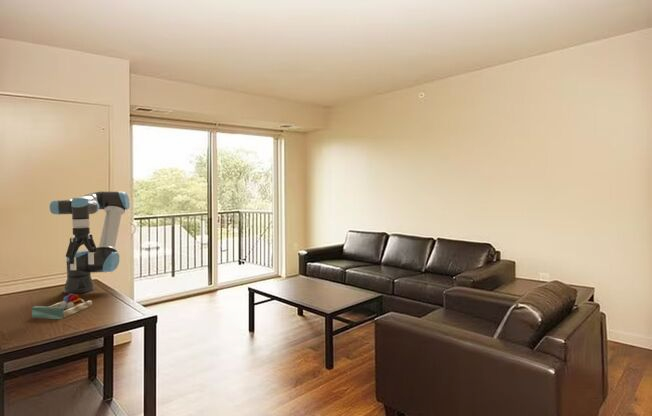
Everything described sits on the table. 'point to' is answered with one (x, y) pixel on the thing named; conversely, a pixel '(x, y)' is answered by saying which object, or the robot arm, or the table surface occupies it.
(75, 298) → the rainbow disc toy
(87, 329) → the table surface
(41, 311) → the channel
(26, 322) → the table surface
